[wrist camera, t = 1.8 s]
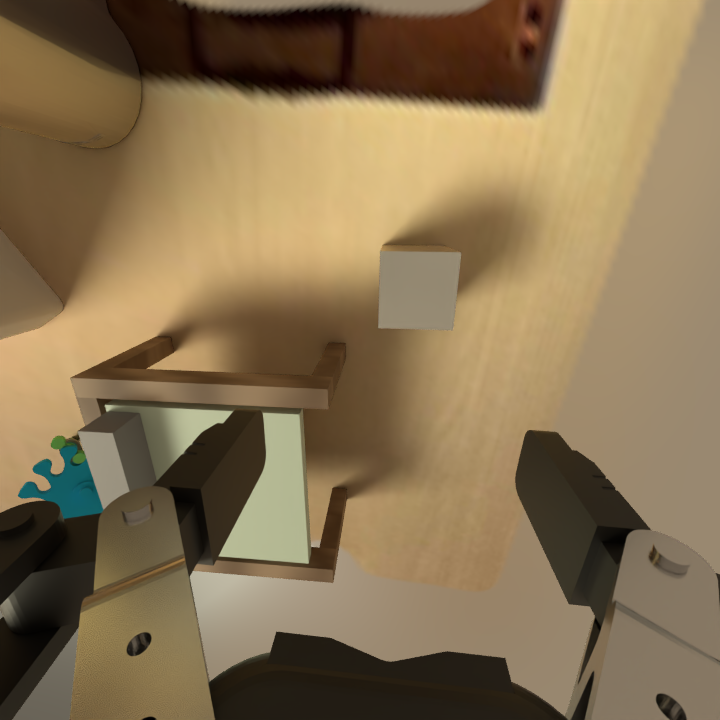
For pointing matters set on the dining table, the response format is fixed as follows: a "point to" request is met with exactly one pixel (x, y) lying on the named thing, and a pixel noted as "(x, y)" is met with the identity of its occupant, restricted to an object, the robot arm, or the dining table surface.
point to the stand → (137, 382)
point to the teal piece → (67, 481)
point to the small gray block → (418, 287)
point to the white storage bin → (23, 293)
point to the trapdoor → (170, 439)
